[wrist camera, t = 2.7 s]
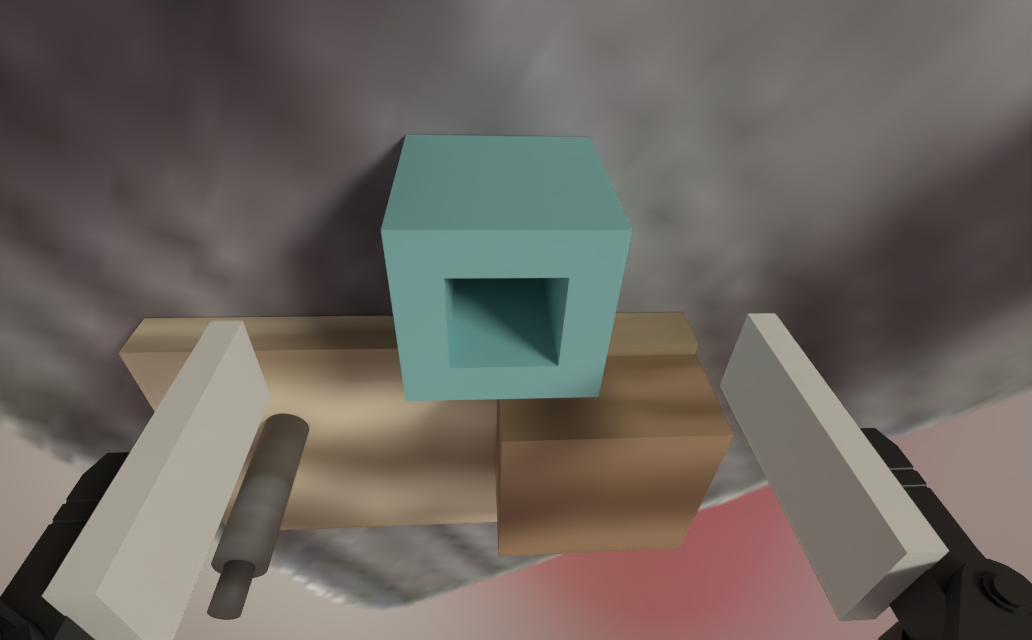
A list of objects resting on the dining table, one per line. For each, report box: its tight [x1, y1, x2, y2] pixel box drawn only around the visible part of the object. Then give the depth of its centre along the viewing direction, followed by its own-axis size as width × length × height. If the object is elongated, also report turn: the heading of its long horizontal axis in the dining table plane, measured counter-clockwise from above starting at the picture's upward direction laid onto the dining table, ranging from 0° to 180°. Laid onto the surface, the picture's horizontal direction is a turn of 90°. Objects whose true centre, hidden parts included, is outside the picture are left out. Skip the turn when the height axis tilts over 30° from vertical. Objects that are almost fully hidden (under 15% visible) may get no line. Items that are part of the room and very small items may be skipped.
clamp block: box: [495, 355, 734, 556], centre depth 22 cm, size 8×8×4 cm
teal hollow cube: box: [381, 135, 632, 401], centre depth 17 cm, size 6×6×6 cm
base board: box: [119, 312, 698, 620], centre depth 22 cm, size 13×22×10 cm, turn 89°
